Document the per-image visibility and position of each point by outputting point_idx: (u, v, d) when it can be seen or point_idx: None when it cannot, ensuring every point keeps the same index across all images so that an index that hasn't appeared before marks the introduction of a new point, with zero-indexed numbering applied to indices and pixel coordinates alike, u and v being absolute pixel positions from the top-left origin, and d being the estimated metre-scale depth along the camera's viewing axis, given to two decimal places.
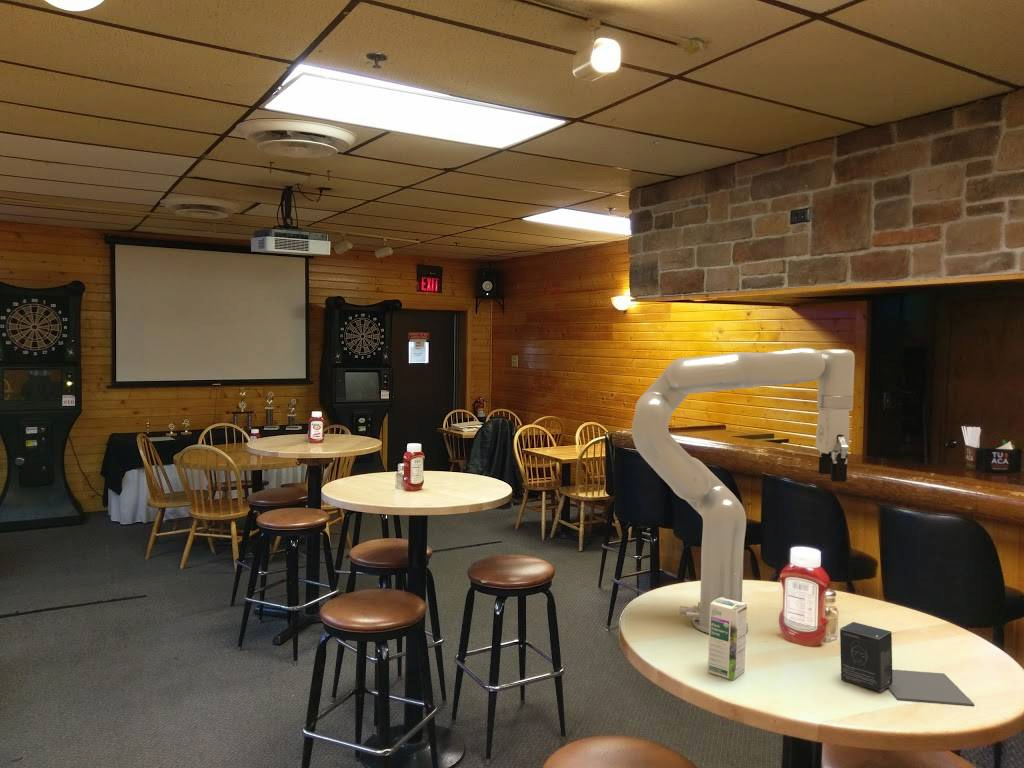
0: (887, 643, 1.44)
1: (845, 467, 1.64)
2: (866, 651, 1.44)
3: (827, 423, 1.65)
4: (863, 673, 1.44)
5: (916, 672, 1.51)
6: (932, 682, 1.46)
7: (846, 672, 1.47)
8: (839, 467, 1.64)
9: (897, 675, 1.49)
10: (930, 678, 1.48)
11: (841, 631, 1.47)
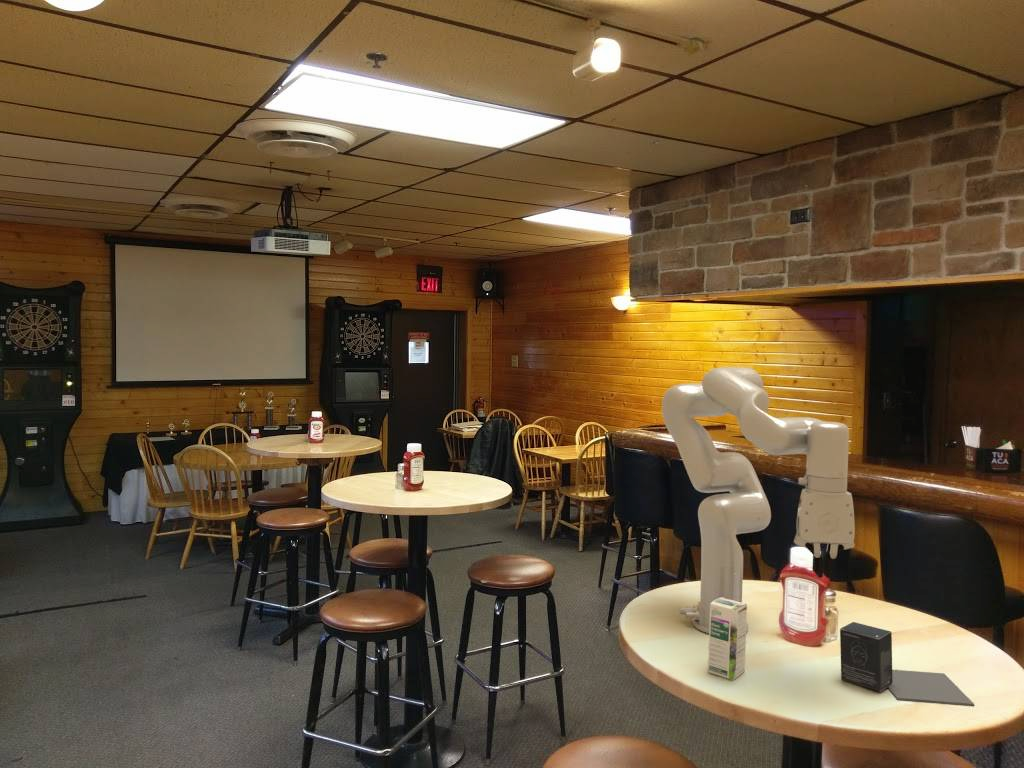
0: (887, 643, 1.44)
1: None
2: (866, 651, 1.44)
3: (850, 509, 1.43)
4: (863, 673, 1.44)
5: (916, 672, 1.51)
6: (932, 682, 1.46)
7: (846, 672, 1.47)
8: None
9: (897, 675, 1.49)
10: (930, 678, 1.48)
11: (841, 631, 1.47)
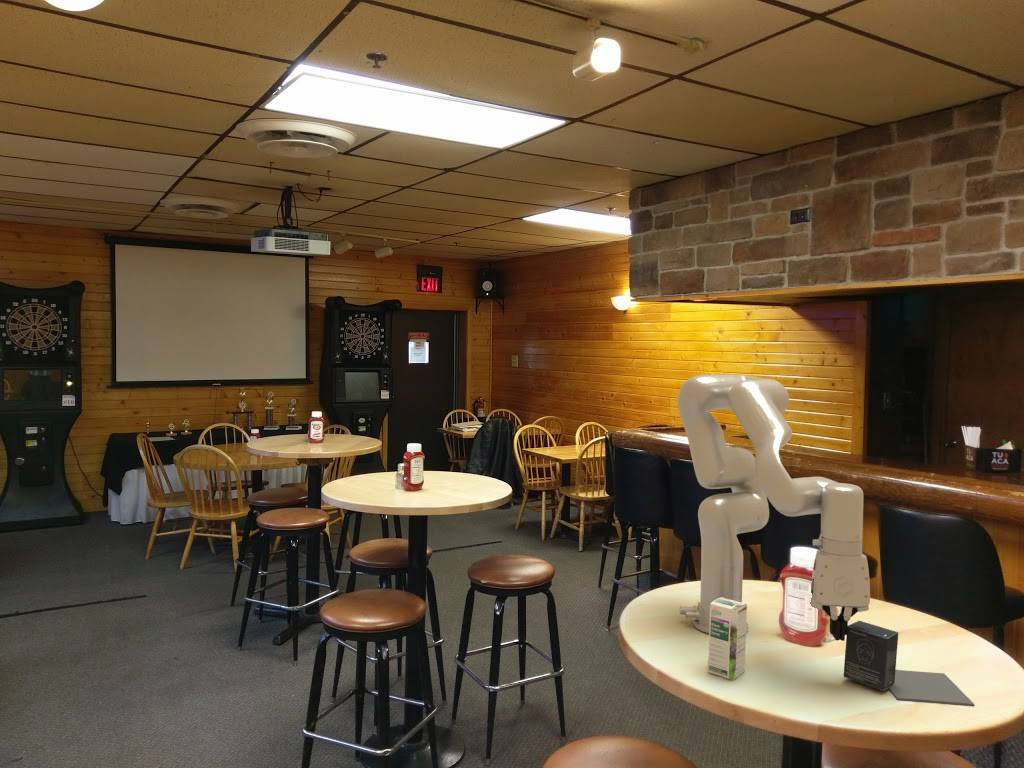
0: (894, 644, 1.44)
1: None
2: (872, 650, 1.43)
3: (865, 573, 1.43)
4: (867, 672, 1.44)
5: (916, 672, 1.51)
6: (932, 682, 1.46)
7: (850, 669, 1.46)
8: None
9: (897, 675, 1.49)
10: (930, 678, 1.48)
11: (848, 629, 1.47)
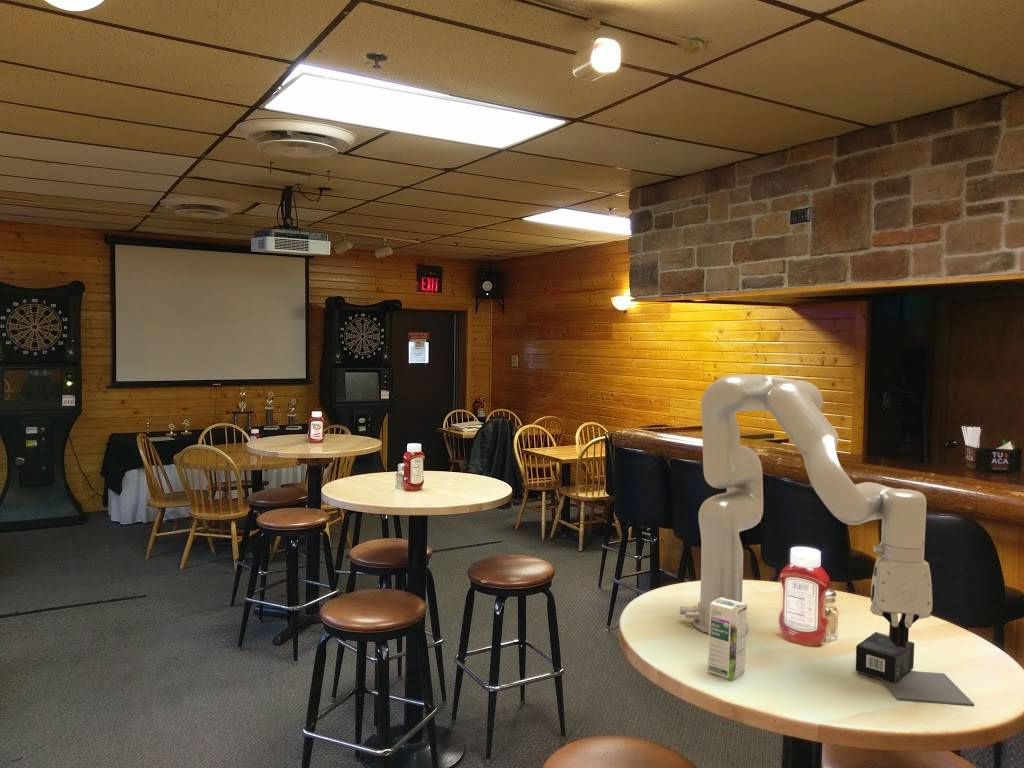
0: (910, 661, 1.51)
1: None
2: None
3: (928, 579, 1.42)
4: (884, 648, 1.49)
5: (916, 672, 1.51)
6: (932, 682, 1.46)
7: (866, 644, 1.51)
8: None
9: None
10: (930, 678, 1.48)
11: (875, 632, 1.57)
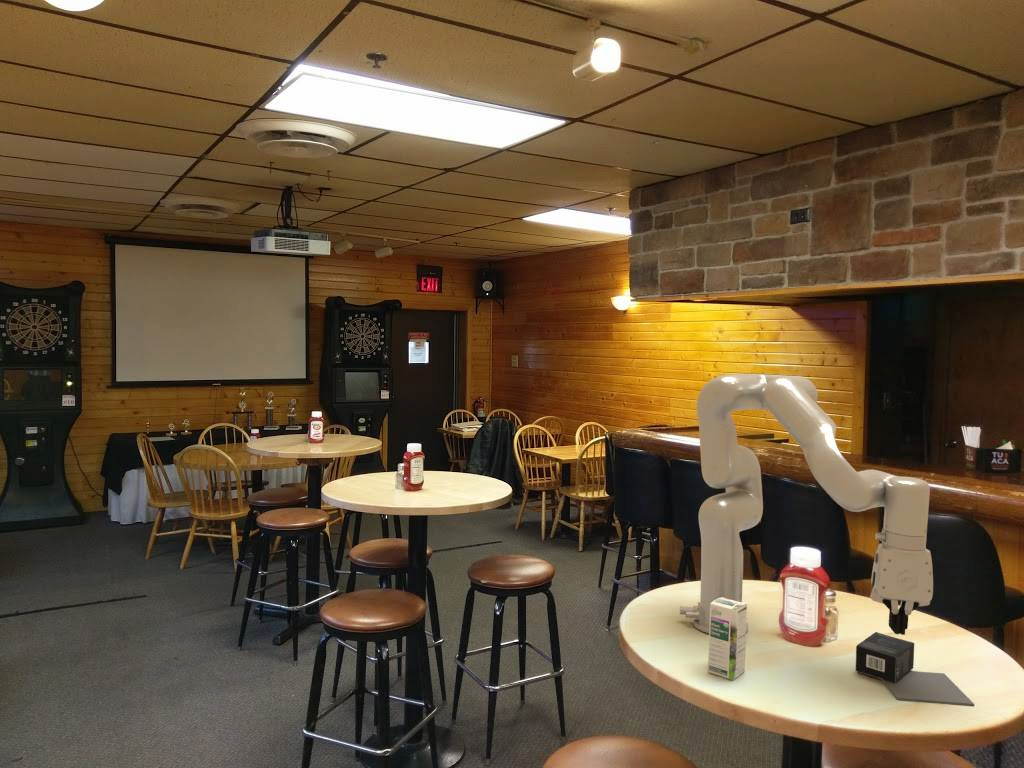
0: (910, 661, 1.51)
1: None
2: (895, 642, 1.52)
3: (929, 567, 1.42)
4: (884, 648, 1.49)
5: (916, 672, 1.51)
6: (932, 682, 1.46)
7: (866, 644, 1.51)
8: None
9: None
10: (930, 678, 1.48)
11: (875, 632, 1.57)
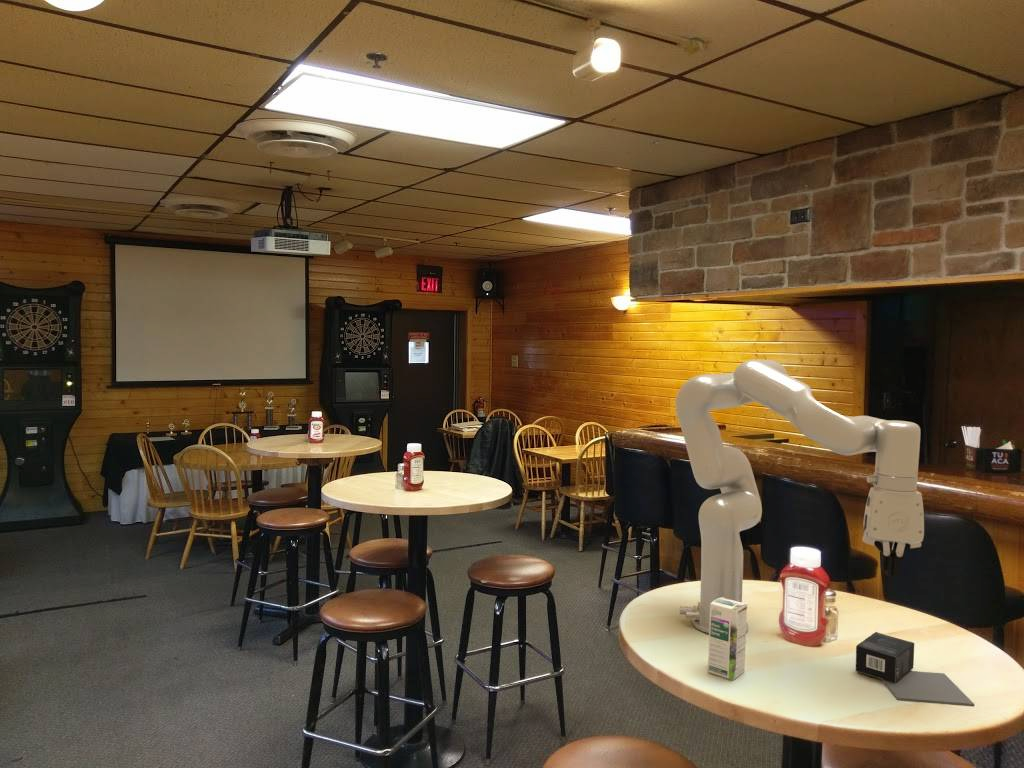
0: (910, 661, 1.51)
1: None
2: (895, 642, 1.52)
3: (920, 509, 1.43)
4: (884, 648, 1.49)
5: (916, 672, 1.51)
6: (932, 682, 1.46)
7: (866, 644, 1.51)
8: None
9: None
10: (930, 678, 1.48)
11: (875, 632, 1.57)
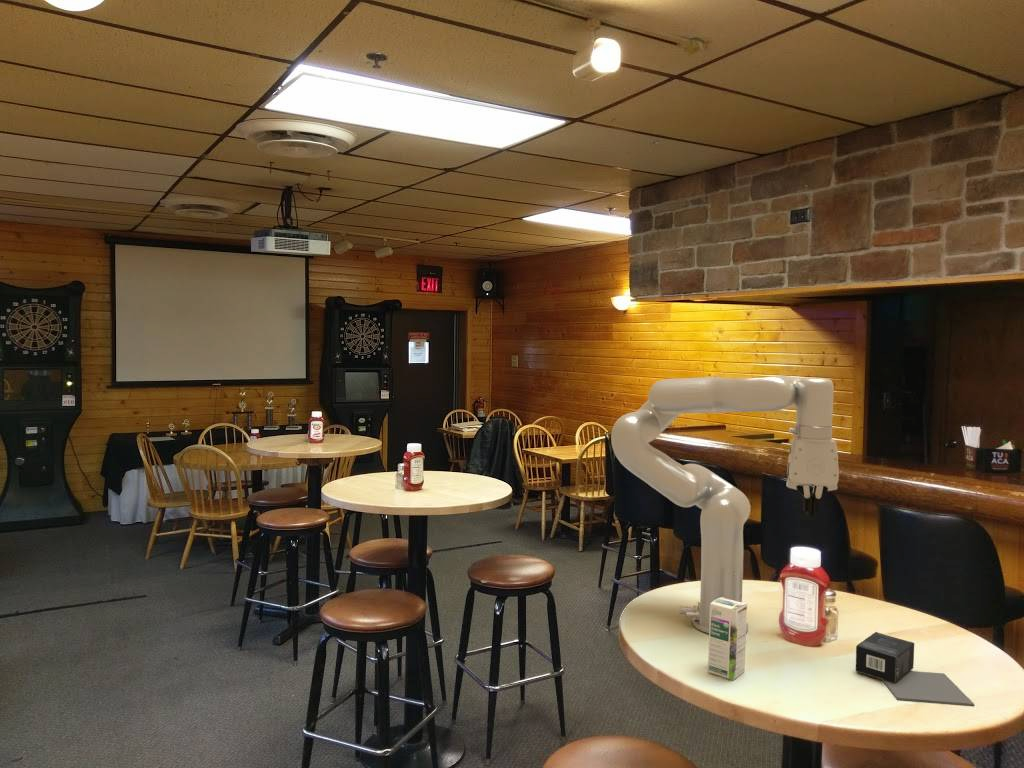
0: (910, 661, 1.51)
1: None
2: (895, 642, 1.52)
3: (834, 454, 1.61)
4: (884, 648, 1.49)
5: (916, 672, 1.51)
6: (932, 682, 1.46)
7: (866, 644, 1.51)
8: None
9: None
10: (930, 678, 1.48)
11: (875, 632, 1.57)
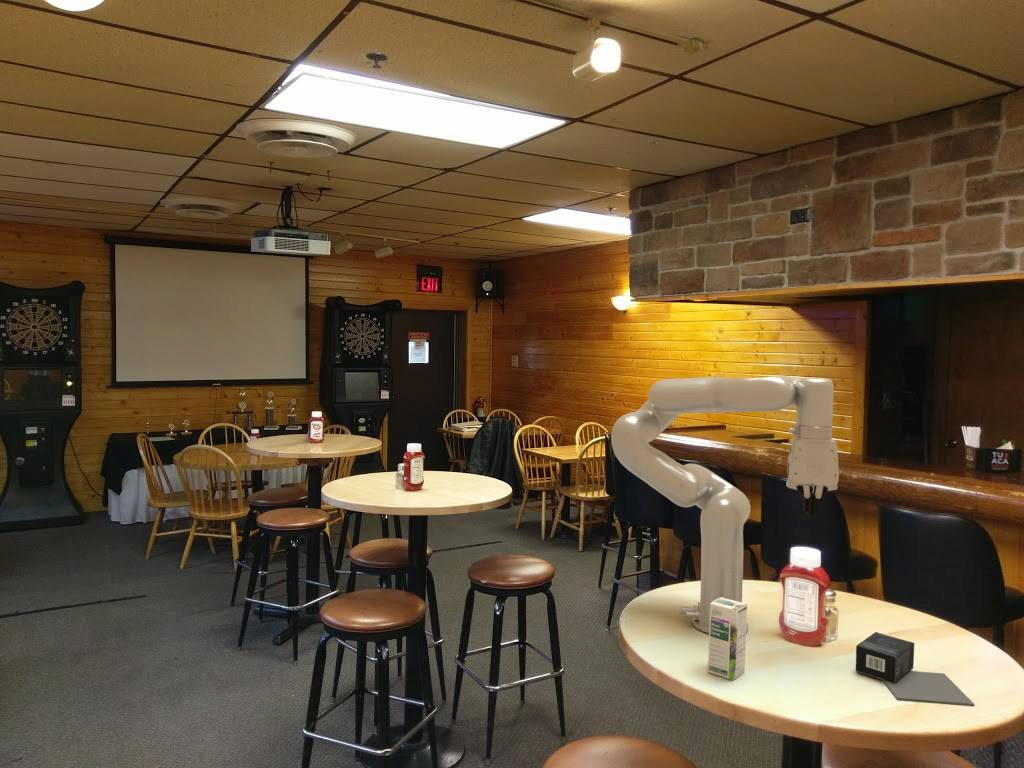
0: (910, 661, 1.51)
1: None
2: (895, 642, 1.52)
3: (834, 454, 1.61)
4: (884, 648, 1.49)
5: (916, 672, 1.51)
6: (932, 682, 1.46)
7: (866, 644, 1.51)
8: None
9: None
10: (930, 678, 1.48)
11: (875, 632, 1.57)
